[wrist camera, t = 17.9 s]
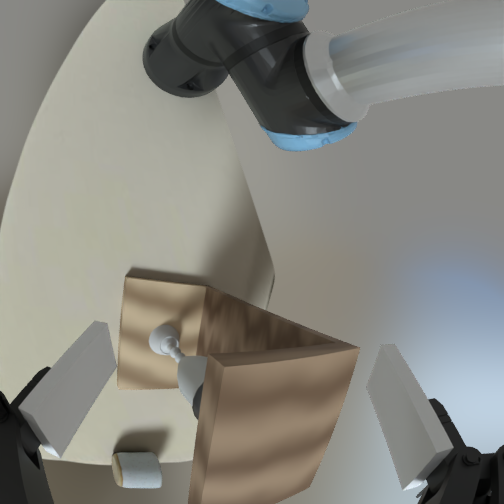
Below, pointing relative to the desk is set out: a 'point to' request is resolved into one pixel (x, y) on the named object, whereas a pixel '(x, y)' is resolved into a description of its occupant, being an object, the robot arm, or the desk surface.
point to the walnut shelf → (240, 387)
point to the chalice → (181, 364)
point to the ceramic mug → (137, 470)
